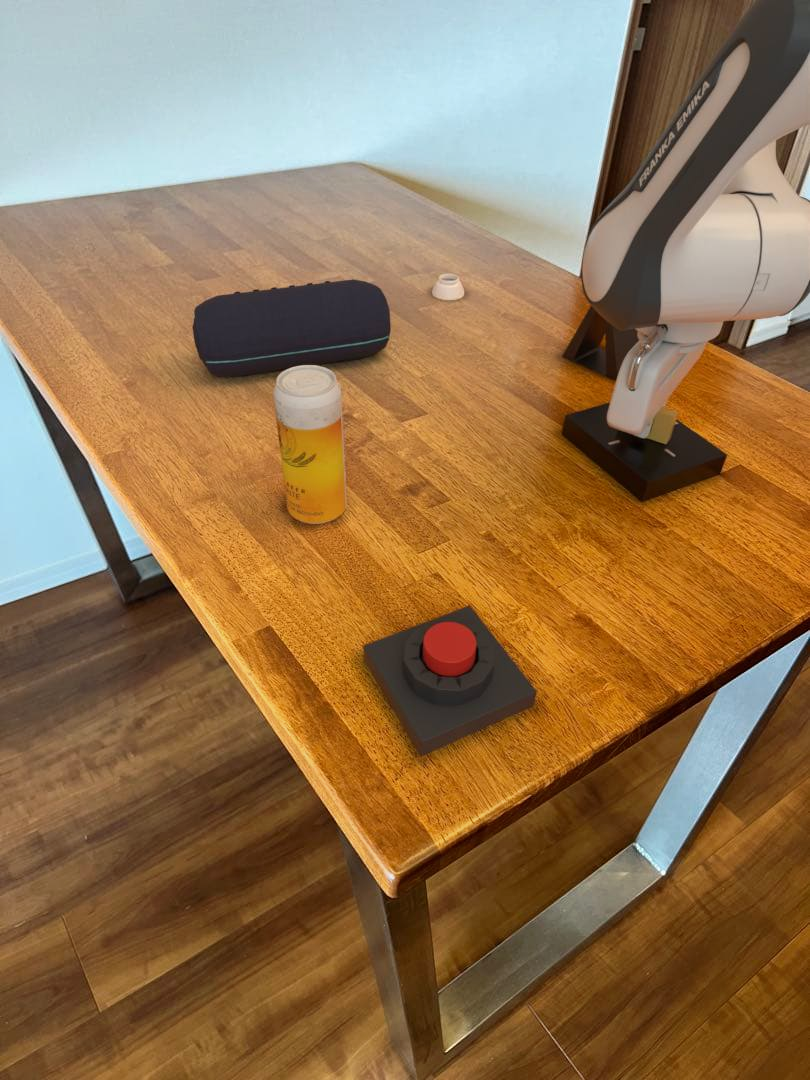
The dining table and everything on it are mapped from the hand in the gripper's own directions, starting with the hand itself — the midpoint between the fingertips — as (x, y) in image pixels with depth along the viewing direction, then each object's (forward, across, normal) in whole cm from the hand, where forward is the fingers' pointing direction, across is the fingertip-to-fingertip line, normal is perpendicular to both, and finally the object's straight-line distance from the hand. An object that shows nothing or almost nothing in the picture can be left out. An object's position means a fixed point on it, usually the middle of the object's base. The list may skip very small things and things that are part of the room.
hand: (645, 427), depth 80 cm
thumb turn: (+1, 0, 0) cm, 1 cm away
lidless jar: (+4, +25, +40) cm, 47 cm away
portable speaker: (+4, -6, +46) cm, 46 cm away
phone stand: (+4, +18, +12) cm, 22 cm away
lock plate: (+4, 0, 0) cm, 4 cm away
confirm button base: (+4, -39, +1) cm, 40 cm away
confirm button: (0, -39, +1) cm, 39 cm away
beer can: (+4, -28, +24) cm, 37 cm away
